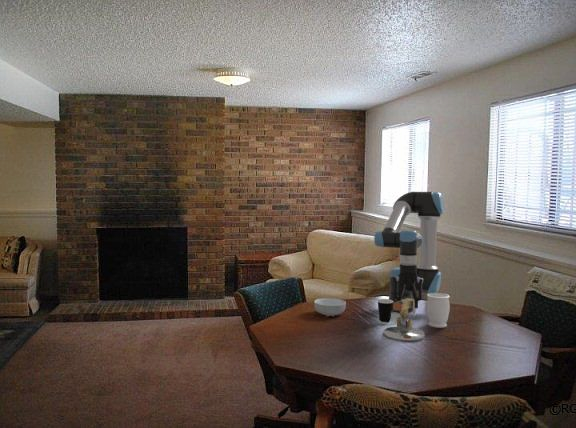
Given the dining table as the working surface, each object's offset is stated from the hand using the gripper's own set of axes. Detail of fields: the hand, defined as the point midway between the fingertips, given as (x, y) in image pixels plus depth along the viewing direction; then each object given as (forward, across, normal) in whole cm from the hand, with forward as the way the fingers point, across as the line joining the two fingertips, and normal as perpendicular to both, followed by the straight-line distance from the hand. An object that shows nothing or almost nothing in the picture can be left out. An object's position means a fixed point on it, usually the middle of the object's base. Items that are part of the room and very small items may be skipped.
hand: (408, 314), depth 222 cm
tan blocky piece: (+6, -1, -3) cm, 7 cm away
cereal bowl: (+8, -44, +14) cm, 47 cm away
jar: (+9, +10, +20) cm, 24 cm away
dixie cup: (+9, -14, +13) cm, 21 cm away
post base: (+9, -1, -3) cm, 10 cm away
